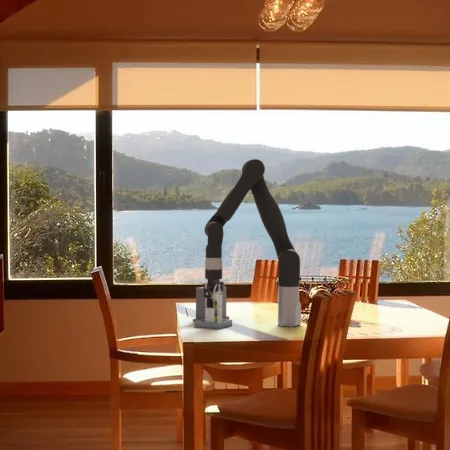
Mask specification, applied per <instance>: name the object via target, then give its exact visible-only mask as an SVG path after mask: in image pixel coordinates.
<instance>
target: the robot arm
mask: <svg viewBox="0 0 450 450" xmlns="http://www.w3.org/2000/svg"><path fill="white" fill-rule="evenodd" d="M241 167H242V168H241V175H240V177H239V179H238V180H237V182H236V183H235V185H234V187H233V188H232V189H231V191H229V193H228V194H227V195H226V196H225V198H224V200H223V201H222V202H221V204H220V205H219V207H218V208H217V210H216V212H214V214H213V215H212V217H211V218H210V219H209V220H208V221H207V222H206V224H205V226H204V228H203V229H204V234H205V235H206V237H207V244H206V246H205V261H204V279H205V280H207V283H204V284H203V286H202V287H204V298H206V299H207V307H208V308H212V297H213V294H214V293H215V291H218V292H222V295H223V286H225V285H224V281H221V280H222V279H223V249H222V247H223V241H224V240H223V239H224V227H225V225H226V224H227V223H228V222H229V221H231V219H232V218H233V216H234V215H235V213H236V212H237V210H238V209H239V207H240V205H241V204H242V202H243V200H244V199H245V197H246V196H247V195H248V193H249V191H250V192H251V194H252V196H253V199H254V203H255V207H256V209H257V211H258V215H259V217H260V220H261V222H262V224H263V227H264V229H265V230H266V232H267V234H268V236H269V238H270V240H271V242H272V244H273V247H274V249H275V253H276V256H277V260H278V261H277V262H278V279H277V280H278V281H277V282H278V284H277V288H278V289H277V293H278V294H277V325H278V326H280V327H294V326H296V327H298V326H297V325H299V326H301V325H300V324H301V323H302V303H301V302H300V279H301V259H300V255H299V254H298V252H297V251H296V249H295V247H294V245H293V244H292V242H291V240H290V237H289V235H288V230H287V225H286V222H285V219H284V216H283V214H282V210H281V209H280V206H279V204H278V202H277V200H276V199H275V197H274V196H273V194H272V193H271V191H270V190H269V188H268V186H267V183H266V180H265V178H264V174H265V171H266V167H265V164H264V162H263V160H261V159H258V158H251V159H248V160H247V161H246V162H245V163H243V165H242V166H241ZM206 293H207V295H206ZM210 294H211V296H210Z"/></svg>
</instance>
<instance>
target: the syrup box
mask: <svg viewBox="0 0 450 450" xmlns="http://www.w3.org/2000/svg"><path fill="white" fill-rule="evenodd" d="M206 295H207V293H206ZM210 296H211V294H210ZM205 322H212V323H220V322H222V292H218V291H215V293H214V294H213V297H212V308H208V307H207V299H206V298H205Z"/></svg>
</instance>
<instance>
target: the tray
mask: <svg viewBox="0 0 450 450" xmlns="http://www.w3.org/2000/svg"><path fill="white" fill-rule="evenodd" d="M193 322H194V328H198V329H199V328H200V329H201V328H203V329H212V330H221V329H222V330H223V329H224V328H229V327H232V326H233V319H222V322H220V323H212V322H205V319H202V320H198V321H193Z"/></svg>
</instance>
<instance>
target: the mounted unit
mask: <svg viewBox="0 0 450 450" xmlns="http://www.w3.org/2000/svg"><path fill="white" fill-rule="evenodd" d="M202 319H205V298H204V287H203V286H200V287H195V318H193V319H192V322H194V321H198V320H202ZM222 319H228V320H230V316H227V286H225V285H223V295H222Z"/></svg>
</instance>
